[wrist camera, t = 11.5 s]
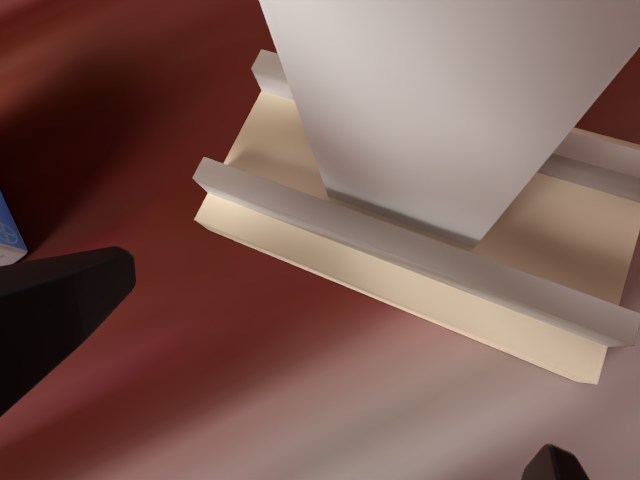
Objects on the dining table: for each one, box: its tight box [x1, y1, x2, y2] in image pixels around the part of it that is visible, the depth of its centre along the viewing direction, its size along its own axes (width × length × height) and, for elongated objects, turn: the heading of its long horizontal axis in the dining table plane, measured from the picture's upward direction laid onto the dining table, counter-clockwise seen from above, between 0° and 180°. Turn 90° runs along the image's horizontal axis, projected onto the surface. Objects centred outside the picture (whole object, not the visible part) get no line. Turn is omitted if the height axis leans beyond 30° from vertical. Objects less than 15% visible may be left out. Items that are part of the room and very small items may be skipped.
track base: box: [193, 50, 640, 384], centre depth 16 cm, size 9×16×3 cm, turn 67°
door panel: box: [259, 0, 640, 248], centre depth 10 cm, size 3×6×13 cm, turn 67°
